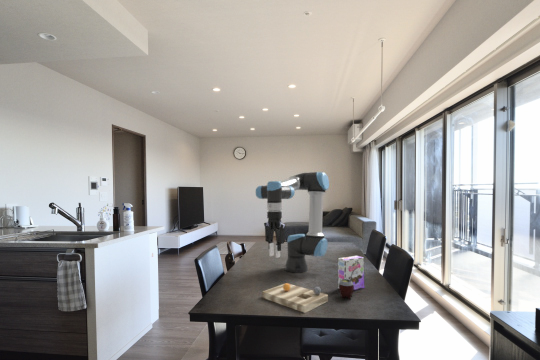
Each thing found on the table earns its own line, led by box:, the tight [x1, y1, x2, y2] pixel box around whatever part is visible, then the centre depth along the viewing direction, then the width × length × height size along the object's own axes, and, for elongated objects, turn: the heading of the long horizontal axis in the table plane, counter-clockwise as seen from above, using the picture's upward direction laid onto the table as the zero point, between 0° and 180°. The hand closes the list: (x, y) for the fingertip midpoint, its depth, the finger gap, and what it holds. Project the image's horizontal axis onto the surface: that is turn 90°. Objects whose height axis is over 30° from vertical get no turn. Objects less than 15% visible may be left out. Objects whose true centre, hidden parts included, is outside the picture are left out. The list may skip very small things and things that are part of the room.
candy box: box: [337, 255, 365, 291], centre depth 154 cm, size 14×6×16 cm, turn 117°
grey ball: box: [312, 286, 322, 295], centre depth 137 cm, size 4×4×4 cm
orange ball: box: [283, 282, 290, 291], centre depth 143 cm, size 4×4×4 cm
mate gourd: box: [339, 267, 358, 301], centre depth 142 cm, size 8×8×15 cm
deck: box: [262, 283, 329, 314], centre depth 139 cm, size 26×18×3 cm
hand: (274, 256), depth 149 cm, fingers open, 4 cm apart
